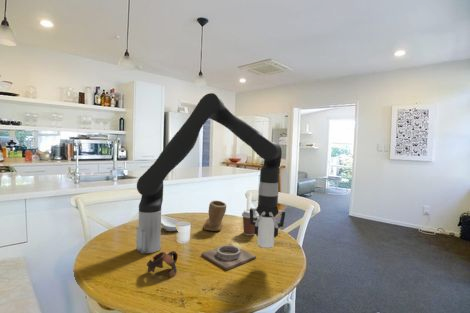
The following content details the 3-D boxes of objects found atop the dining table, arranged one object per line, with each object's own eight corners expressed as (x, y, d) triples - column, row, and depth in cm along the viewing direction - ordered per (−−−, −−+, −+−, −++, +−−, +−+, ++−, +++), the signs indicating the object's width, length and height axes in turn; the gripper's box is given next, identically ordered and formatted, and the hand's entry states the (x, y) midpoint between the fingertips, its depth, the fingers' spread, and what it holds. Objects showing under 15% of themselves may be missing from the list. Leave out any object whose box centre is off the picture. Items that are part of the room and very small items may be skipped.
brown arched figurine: (168, 284, 85) (156, 263, 84) (150, 288, 89) (138, 268, 88) (188, 261, 95) (177, 242, 94) (171, 265, 100) (160, 247, 99)
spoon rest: (187, 227, 140) (187, 215, 140) (176, 235, 129) (177, 221, 128) (150, 222, 147) (150, 210, 146) (137, 229, 135) (137, 215, 135)
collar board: (226, 270, 94) (226, 262, 94) (201, 255, 106) (201, 248, 105) (255, 258, 105) (256, 251, 105) (230, 246, 116) (230, 239, 116)
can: (263, 249, 95) (264, 218, 94) (253, 243, 100) (255, 213, 100) (277, 247, 98) (278, 216, 97) (267, 241, 103) (269, 212, 103)
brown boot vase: (224, 233, 133) (225, 204, 132) (202, 232, 133) (203, 203, 133) (226, 224, 148) (227, 198, 148) (206, 223, 149) (207, 197, 148)
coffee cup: (261, 232, 135) (262, 210, 135) (253, 238, 127) (254, 214, 127) (246, 229, 140) (247, 207, 139) (237, 234, 132) (238, 211, 132)
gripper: (286, 193, 101) (284, 234, 102) (250, 190, 103) (248, 231, 104) (287, 196, 93) (285, 241, 94) (249, 194, 95) (246, 237, 96)
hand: (265, 235), depth 99 cm, fingers closed on can, 6 cm apart
